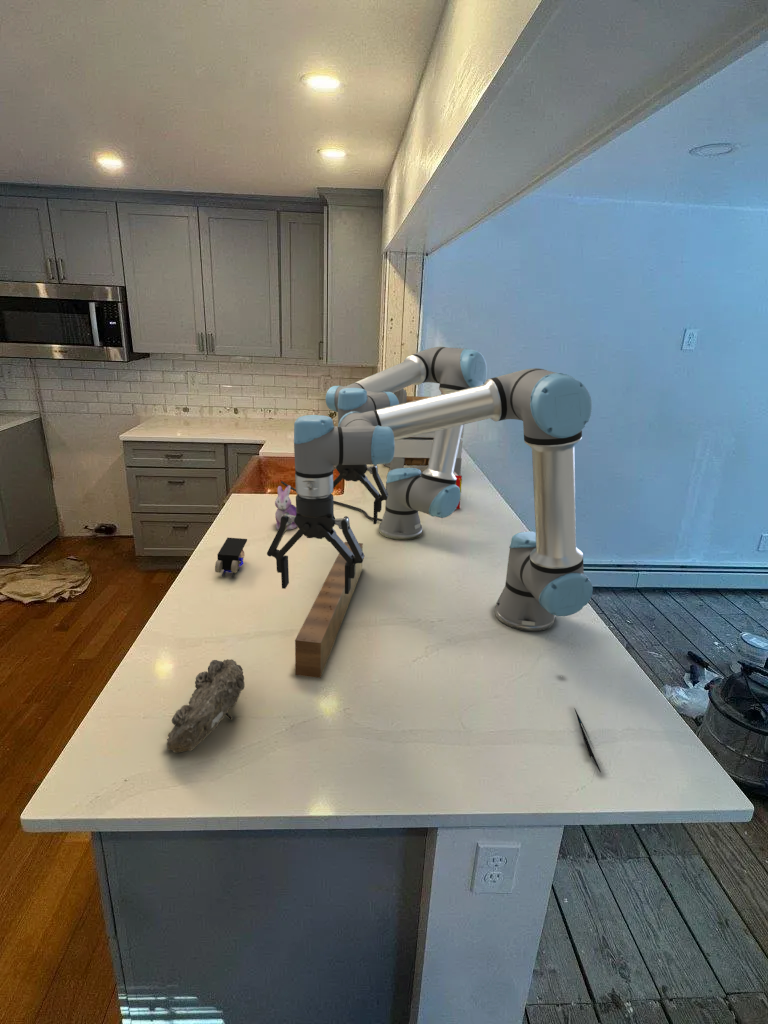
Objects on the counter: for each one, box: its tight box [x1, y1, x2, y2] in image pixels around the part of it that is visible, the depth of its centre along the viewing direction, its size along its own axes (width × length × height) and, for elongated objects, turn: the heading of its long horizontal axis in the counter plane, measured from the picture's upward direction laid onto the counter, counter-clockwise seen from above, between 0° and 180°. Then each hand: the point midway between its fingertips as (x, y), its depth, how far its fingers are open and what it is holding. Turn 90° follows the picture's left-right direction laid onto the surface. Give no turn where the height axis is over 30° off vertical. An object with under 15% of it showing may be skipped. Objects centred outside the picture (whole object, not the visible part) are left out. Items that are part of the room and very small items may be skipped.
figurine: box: [274, 484, 298, 531], centre depth 199 cm, size 9×10×15 cm
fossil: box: [166, 658, 245, 754], centre depth 106 cm, size 22×10×15 cm
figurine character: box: [214, 537, 248, 578], centre depth 166 cm, size 7×8×15 cm
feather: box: [561, 676, 602, 773], centre depth 111 cm, size 2×28×2 cm
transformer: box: [383, 388, 465, 476], centre depth 268 cm, size 34×33×41 cm
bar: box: [294, 541, 364, 679], centre depth 145 cm, size 54×6×9 cm, turn 173°
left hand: (351, 520), depth 160 cm, fingers open, 13 cm apart
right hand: (316, 588), depth 121 cm, fingers open, 13 cm apart
